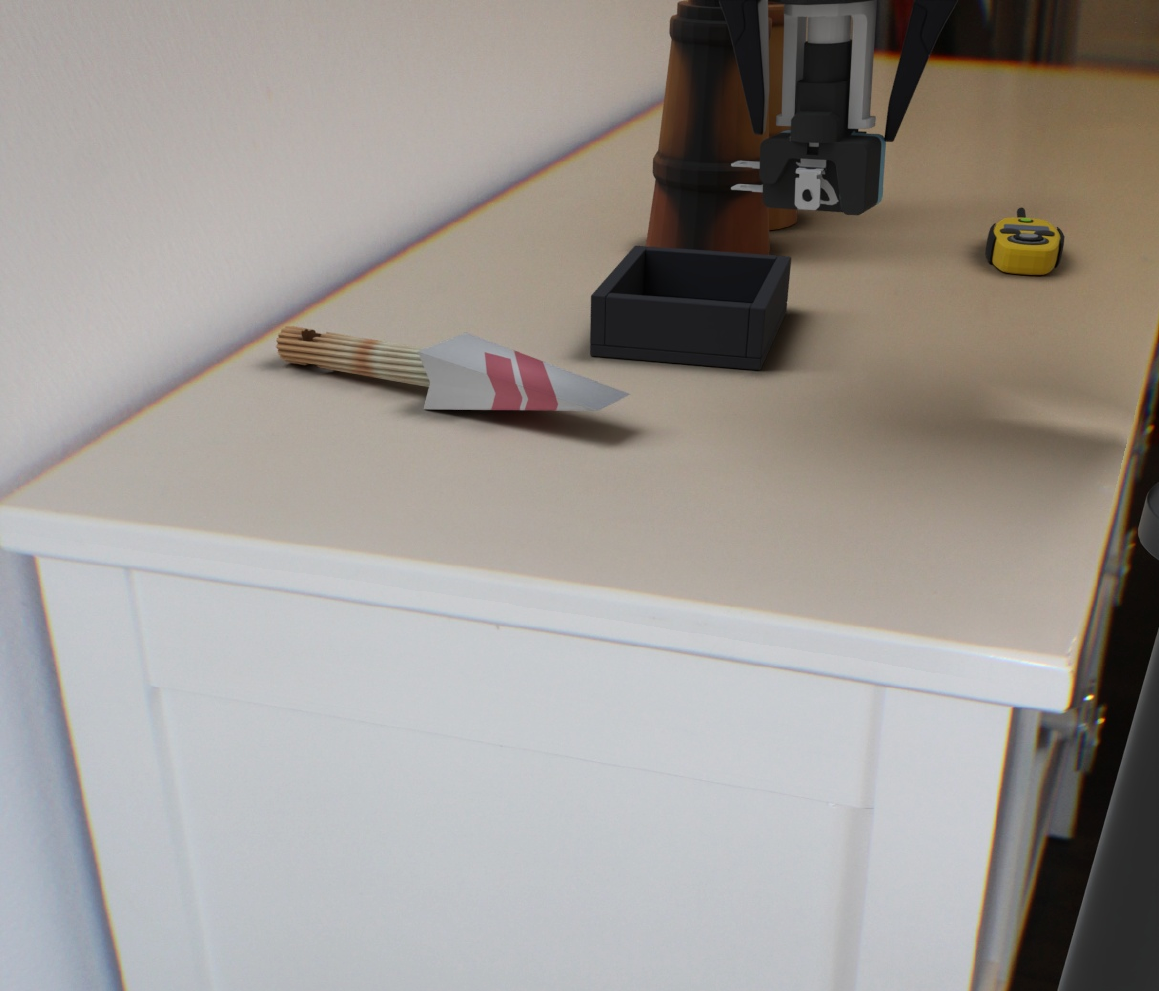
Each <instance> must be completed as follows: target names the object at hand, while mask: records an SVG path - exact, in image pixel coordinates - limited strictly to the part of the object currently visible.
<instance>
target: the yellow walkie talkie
mask: <svg viewBox="0 0 1159 991" xmlns="http://www.w3.org/2000/svg"><path fill="white" fill-rule="evenodd" d="M1026 214H1027V213H1026V210H1025V207H1018V208H1017V210H1016V217H1013V216H1012V217H1005V218H1002V219H1000V220H999V221H998V222H994V223H993V224H992V225H991V226H990V227H989V230H988V235H987V238H986V244H985V253H984V254H985V258H986V260H987V262H988V263H989V264H990V265H993V266H995V267H996V268H997V269H998V270H999V271H1001V272H1003V273H1007V274H1013V275H1027V276H1028V275H1029V276H1041V275H1042V276H1043V275H1046V274H1050V272H1052V270H1054V269H1056V268H1058V267H1059V265H1060V263H1061V260H1062V255H1063V252H1064V246H1065V234H1064V233H1063V230H1062V229H1061V228H1060V227H1059V226H1056V227H1055V225H1053V224H1051V222H1050V221H1047V220H1046V219H1042V218H1033V217H1027V215H1026Z"/></svg>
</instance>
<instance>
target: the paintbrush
mask: <svg viewBox="0 0 1159 991" xmlns="http://www.w3.org/2000/svg"><path fill="white" fill-rule="evenodd" d="M280 329H281V330H280V332H278V334H277V337H276V340H275V341H276V345H275V348H276V349H277V352H276V353H277V354H278V355H279V357H280V359H281V360H284V362H286V363H290V364H296V365H301V366H308V365H309V364H311V365H316V367H317V368H321V369H327V370H331V371H337V372H341V373H347V374H353V375H359V376H364V377H368V378H369V377H370V378H374V379H375V378H376V379H381V380H386V381H392V382H398V383H404V384H409V385H415V386H420V387H421V386H422V387H426V388H428V389H427V394H426V396H425V401H424V405H423V410H453V411H454V410H455V411H456V410H457V411H458V410H460V411H461V410H462V411H463V410H465V411H466V410H471V411H564V412H565V411H572V412H573V411H574V412H577V411H578V412H580V411H581V412H599V411H601V410H604V409H605V408H607V407H609V406H611V405H612V404H613V405H614V404H615V403H617V402H619V401H621V400H622V399H625V398H627V397H628V396H630V395H631V393H629V392H626V391H623V390H621V389H618V388H615V387H614V386H613V387H612V386H610V385H607V384H604V383H602V382H599V381H596V380H595V379H592V378H589V377H586V376H583V375H581V374H578V373H575V372H573V371H570V370H567V369H565V368H562V367H559V366H558V365H554V364H551V363H549V362H546V361H544V360H542V359H538V358H535V357H534V356H530V355H528V354H525V353H522V352H519V351H518V350H514V349H511V348H509V347H506V346H504V345H502V344H498V343H496V342H493V341H490V340H488V339H485V338H483V337H480V336H477V335H474V334H472V333H469V332H463V333H461V334H458V335H455V336H453V337H451V338H448V339H446V340H444V341H443V340H442V341H441V342H438V343H436V344H433V345H430V346H428V347H420V346H414V345H409V344H408V345H407V344H402V343H395V342H389V341H383V340H379V339H372V338H365V337H360V336H354V335H348V334H341V333H335V332H330V331H326V332H325V333H323V332H322V333H321V332H316V330H315V329H311V328H306V327H300V326H295V325H285V327H282V328H280Z"/></svg>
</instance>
